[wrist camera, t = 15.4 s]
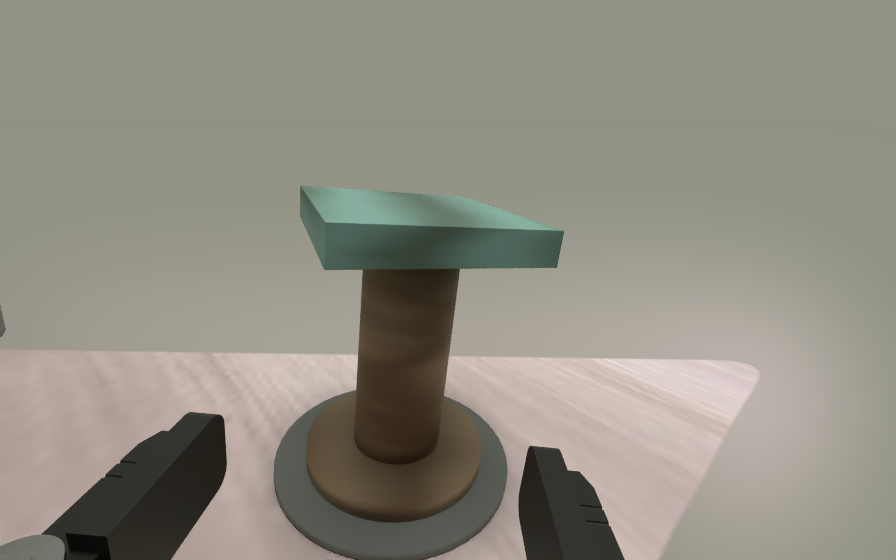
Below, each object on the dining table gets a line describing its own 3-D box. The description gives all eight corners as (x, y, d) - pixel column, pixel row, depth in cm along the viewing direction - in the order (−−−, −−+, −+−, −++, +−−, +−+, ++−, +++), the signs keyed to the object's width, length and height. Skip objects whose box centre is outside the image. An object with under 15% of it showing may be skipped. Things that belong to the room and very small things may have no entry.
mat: (218, 531, 17) (217, 522, 17) (330, 381, 28) (330, 374, 28) (508, 589, 16) (510, 580, 16) (503, 409, 28) (505, 403, 27)
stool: (317, 547, 16) (325, 222, 12) (299, 412, 24) (300, 185, 20) (511, 495, 20) (564, 230, 16) (441, 392, 28) (465, 197, 24)
